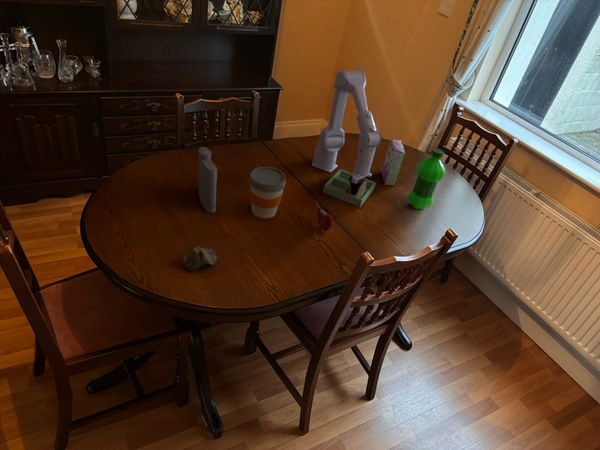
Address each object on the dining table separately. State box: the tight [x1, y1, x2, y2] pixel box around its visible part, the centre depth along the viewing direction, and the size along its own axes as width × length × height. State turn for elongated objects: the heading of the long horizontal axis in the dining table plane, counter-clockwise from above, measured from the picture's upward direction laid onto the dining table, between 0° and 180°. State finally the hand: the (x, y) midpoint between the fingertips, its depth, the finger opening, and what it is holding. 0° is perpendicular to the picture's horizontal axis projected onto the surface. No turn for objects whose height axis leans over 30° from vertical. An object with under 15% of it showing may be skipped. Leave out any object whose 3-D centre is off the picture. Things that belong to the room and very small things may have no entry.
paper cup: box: [348, 177, 368, 199], centre depth 174 cm, size 6×6×8 cm
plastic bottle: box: [407, 147, 446, 210], centre depth 173 cm, size 10×10×25 cm
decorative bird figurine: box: [315, 199, 334, 235], centre depth 156 cm, size 3×18×10 cm, turn 15°
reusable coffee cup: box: [248, 166, 286, 219], centre depth 157 cm, size 12×13×15 cm
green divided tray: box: [322, 168, 377, 208], centre depth 180 cm, size 16×16×4 cm
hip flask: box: [197, 146, 218, 214], centre depth 155 cm, size 16×4×20 cm, turn 23°
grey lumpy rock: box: [182, 245, 218, 272], centre depth 133 cm, size 8×7×10 cm
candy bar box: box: [381, 138, 406, 187], centre depth 189 cm, size 11×5×16 cm, turn 179°
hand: (356, 191), depth 175 cm, fingers closed on paper cup, 6 cm apart
